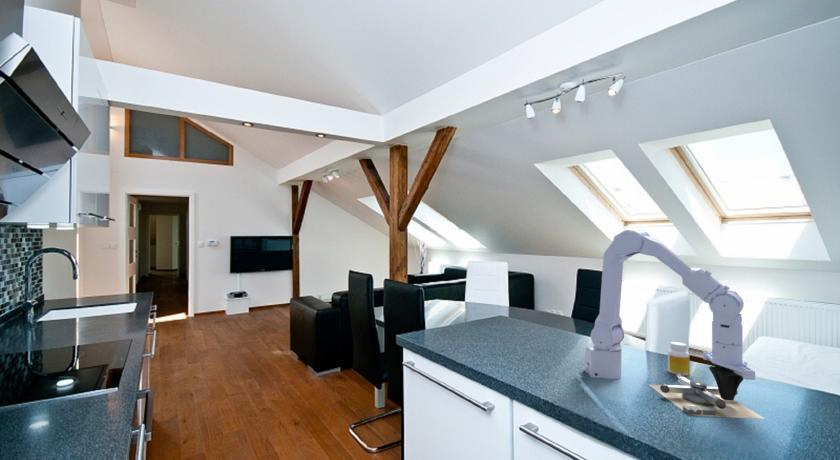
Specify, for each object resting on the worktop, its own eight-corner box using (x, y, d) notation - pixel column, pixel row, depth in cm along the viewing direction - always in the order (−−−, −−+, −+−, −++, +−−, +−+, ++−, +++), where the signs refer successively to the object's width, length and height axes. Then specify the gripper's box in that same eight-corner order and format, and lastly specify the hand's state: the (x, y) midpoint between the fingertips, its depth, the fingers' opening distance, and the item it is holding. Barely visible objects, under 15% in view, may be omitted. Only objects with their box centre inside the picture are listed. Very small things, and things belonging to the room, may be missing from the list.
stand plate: (689, 420, 86) (689, 415, 86) (648, 388, 104) (648, 384, 104) (765, 424, 85) (765, 418, 85) (710, 391, 103) (710, 386, 103)
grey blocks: (688, 414, 87) (688, 406, 87) (682, 410, 89) (682, 402, 89) (716, 415, 86) (716, 407, 86) (710, 411, 88) (710, 403, 88)
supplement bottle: (693, 380, 111) (693, 346, 111) (672, 378, 112) (672, 345, 112) (684, 373, 116) (684, 341, 116) (664, 372, 117) (664, 340, 117)
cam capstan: (682, 413, 87) (682, 397, 87) (642, 382, 105) (642, 369, 105) (766, 416, 86) (766, 400, 86) (712, 385, 104) (712, 372, 104)
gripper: (769, 351, 85) (770, 413, 84) (723, 334, 99) (723, 387, 99) (735, 350, 85) (736, 412, 85) (694, 334, 100) (694, 386, 99)
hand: (727, 399), depth 92 cm, fingers closed
